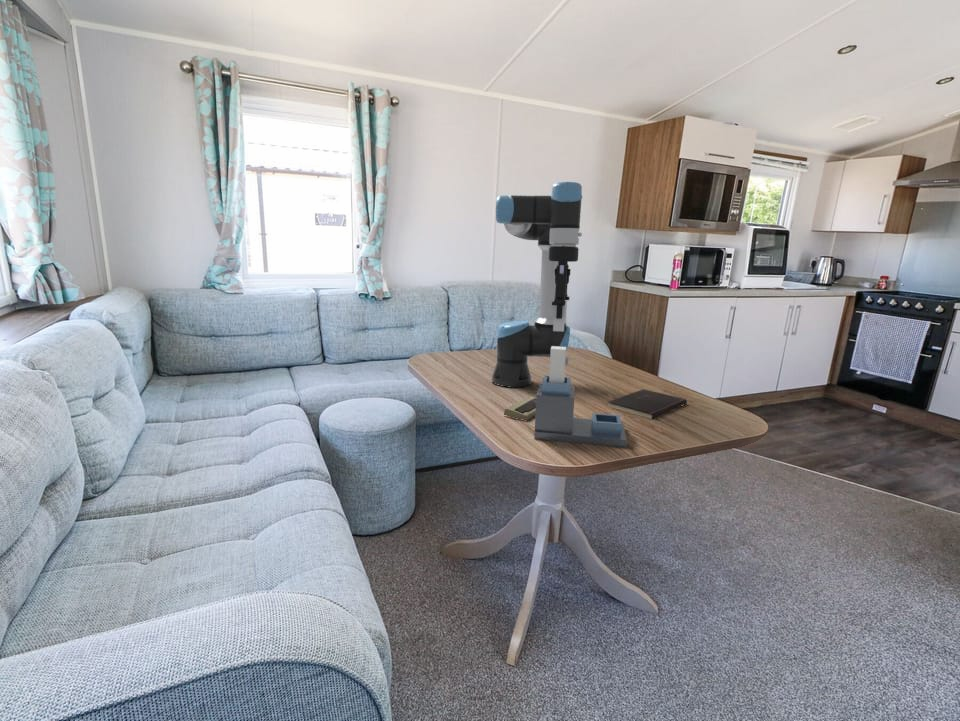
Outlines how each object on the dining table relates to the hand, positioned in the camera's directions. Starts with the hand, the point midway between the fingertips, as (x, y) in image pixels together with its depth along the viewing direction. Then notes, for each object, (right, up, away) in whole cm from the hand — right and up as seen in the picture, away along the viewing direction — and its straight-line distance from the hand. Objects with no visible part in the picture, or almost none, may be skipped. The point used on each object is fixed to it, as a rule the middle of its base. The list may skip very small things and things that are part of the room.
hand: (559, 327), depth 130 cm
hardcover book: (+34, -25, +31) cm, 52 cm away
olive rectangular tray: (-7, -26, +23) cm, 35 cm away
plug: (0, -17, +4) cm, 18 cm away
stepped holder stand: (+6, -29, +6) cm, 30 cm away
